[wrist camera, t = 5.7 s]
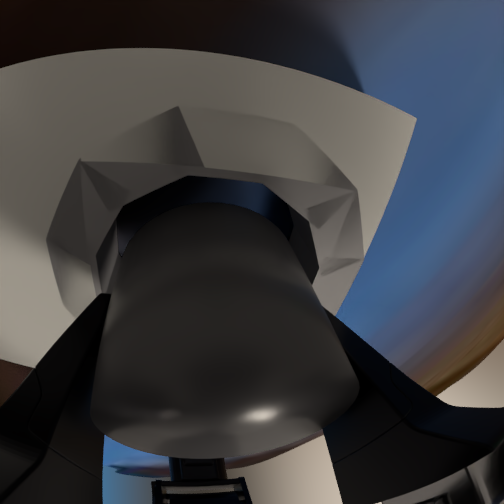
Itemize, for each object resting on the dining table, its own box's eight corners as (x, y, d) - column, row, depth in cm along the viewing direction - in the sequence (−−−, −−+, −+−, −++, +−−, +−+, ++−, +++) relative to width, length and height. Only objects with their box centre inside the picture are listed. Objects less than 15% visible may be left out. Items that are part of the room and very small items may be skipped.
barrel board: (283, 340, 17) (296, 380, 14) (10, 321, 12) (-4, 357, 10) (369, 104, 9) (417, 118, 7) (-38, 89, 4) (-81, 104, 2)
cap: (271, 339, 12) (303, 446, 8) (128, 336, 10) (120, 455, 6) (318, 213, 8) (411, 341, 4) (114, 195, 7) (44, 348, 3)
